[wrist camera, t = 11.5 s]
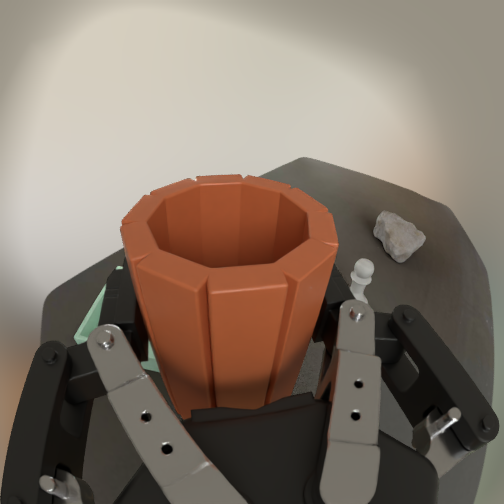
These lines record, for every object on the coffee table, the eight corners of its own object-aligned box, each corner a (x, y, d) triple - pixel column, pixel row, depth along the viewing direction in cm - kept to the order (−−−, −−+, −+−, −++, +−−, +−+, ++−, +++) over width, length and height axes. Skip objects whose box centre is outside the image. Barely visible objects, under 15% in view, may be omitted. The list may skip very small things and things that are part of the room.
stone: (359, 240, 53) (367, 212, 50) (384, 230, 57) (391, 204, 53) (399, 270, 47) (411, 241, 43) (421, 256, 50) (432, 230, 47)
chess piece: (352, 325, 37) (370, 278, 32) (326, 304, 40) (340, 257, 35) (372, 309, 39) (391, 264, 35) (348, 290, 42) (363, 245, 38)
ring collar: (152, 421, 12) (80, 270, 6) (184, 323, 16) (167, 168, 11) (286, 443, 11) (351, 307, 6) (292, 337, 16) (325, 183, 11)
